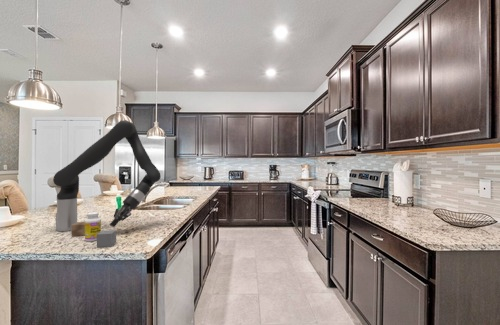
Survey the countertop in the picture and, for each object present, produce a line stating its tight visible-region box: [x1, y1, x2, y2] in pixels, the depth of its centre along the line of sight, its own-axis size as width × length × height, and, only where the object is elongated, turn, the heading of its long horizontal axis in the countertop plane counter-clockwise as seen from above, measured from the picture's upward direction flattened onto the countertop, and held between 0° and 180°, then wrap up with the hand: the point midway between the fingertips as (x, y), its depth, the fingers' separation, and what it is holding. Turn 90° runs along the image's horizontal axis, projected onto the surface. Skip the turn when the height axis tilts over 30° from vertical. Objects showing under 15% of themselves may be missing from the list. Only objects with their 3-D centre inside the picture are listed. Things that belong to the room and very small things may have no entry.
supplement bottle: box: [84, 211, 102, 242], centre depth 122 cm, size 7×7×13 cm
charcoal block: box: [96, 229, 117, 249], centre depth 114 cm, size 6×6×6 cm
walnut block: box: [71, 221, 85, 238], centre depth 130 cm, size 6×6×6 cm
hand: (111, 226), depth 129 cm, fingers closed
